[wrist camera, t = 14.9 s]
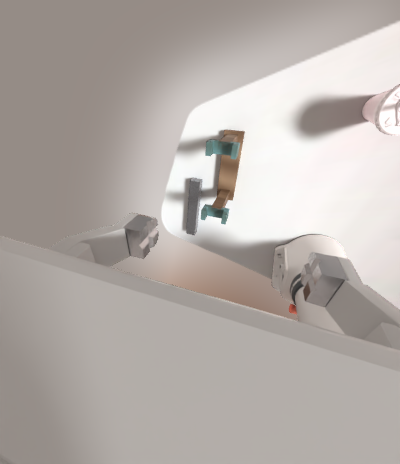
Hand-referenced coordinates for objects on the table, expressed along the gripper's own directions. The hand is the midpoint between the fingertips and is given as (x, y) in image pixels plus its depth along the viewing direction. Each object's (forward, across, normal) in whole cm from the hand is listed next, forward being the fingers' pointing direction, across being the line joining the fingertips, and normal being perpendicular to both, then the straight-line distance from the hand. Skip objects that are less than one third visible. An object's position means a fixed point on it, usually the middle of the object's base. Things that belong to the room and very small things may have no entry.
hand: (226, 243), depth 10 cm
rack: (+37, +5, +6) cm, 38 cm away
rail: (+38, +13, +18) cm, 44 cm away
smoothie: (+37, -18, -7) cm, 42 cm away
